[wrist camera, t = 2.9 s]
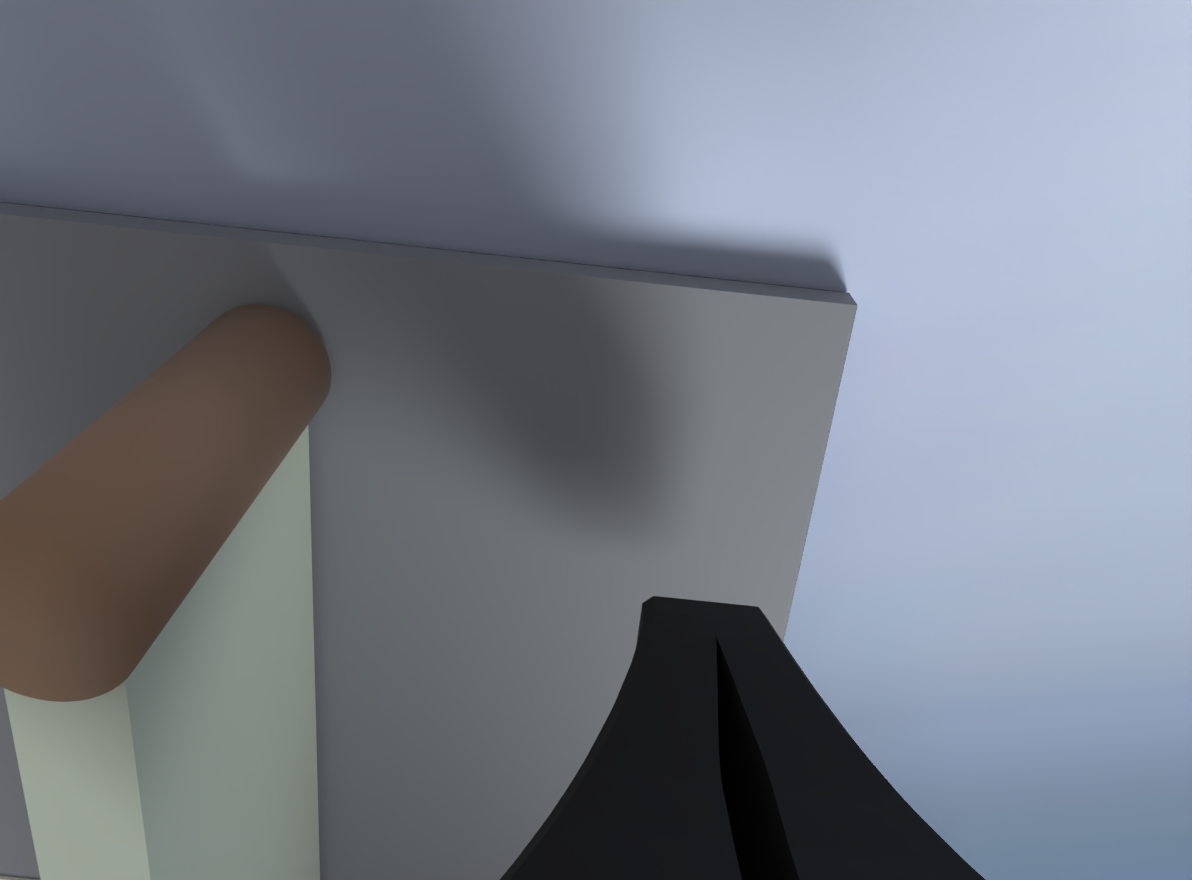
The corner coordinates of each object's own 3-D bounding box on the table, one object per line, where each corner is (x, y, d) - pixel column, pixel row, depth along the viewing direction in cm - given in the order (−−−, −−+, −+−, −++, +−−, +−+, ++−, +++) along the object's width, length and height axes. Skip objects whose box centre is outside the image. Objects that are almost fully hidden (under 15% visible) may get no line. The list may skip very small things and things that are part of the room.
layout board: (849, 292, 12) (858, 306, 12) (638, 1268, 22) (638, 1300, 21) (-716, 125, 12) (-776, 132, 12) (-244, 1185, 21) (-265, 1215, 21)
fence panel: (339, 973, 17) (227, 1361, 12) (245, 964, 17) (95, 1349, 12) (330, 311, 12) (133, 536, 7) (195, 297, 12) (-91, 512, 7)
